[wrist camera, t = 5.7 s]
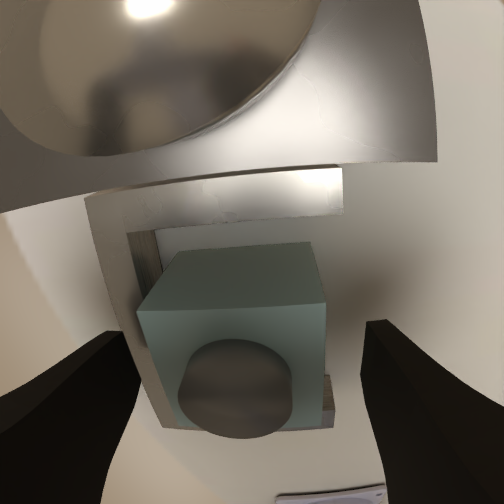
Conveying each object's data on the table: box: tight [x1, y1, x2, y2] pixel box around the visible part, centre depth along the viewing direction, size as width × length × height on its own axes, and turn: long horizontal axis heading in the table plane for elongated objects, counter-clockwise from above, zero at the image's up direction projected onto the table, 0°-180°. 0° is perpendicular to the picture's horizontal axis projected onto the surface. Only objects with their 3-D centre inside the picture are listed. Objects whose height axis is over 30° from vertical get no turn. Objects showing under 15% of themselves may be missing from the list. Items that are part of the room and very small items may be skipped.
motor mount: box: [0, 0, 437, 432], centre depth 7 cm, size 16×8×7 cm, turn 6°
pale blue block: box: [136, 242, 326, 439], centre depth 9 cm, size 4×4×5 cm
